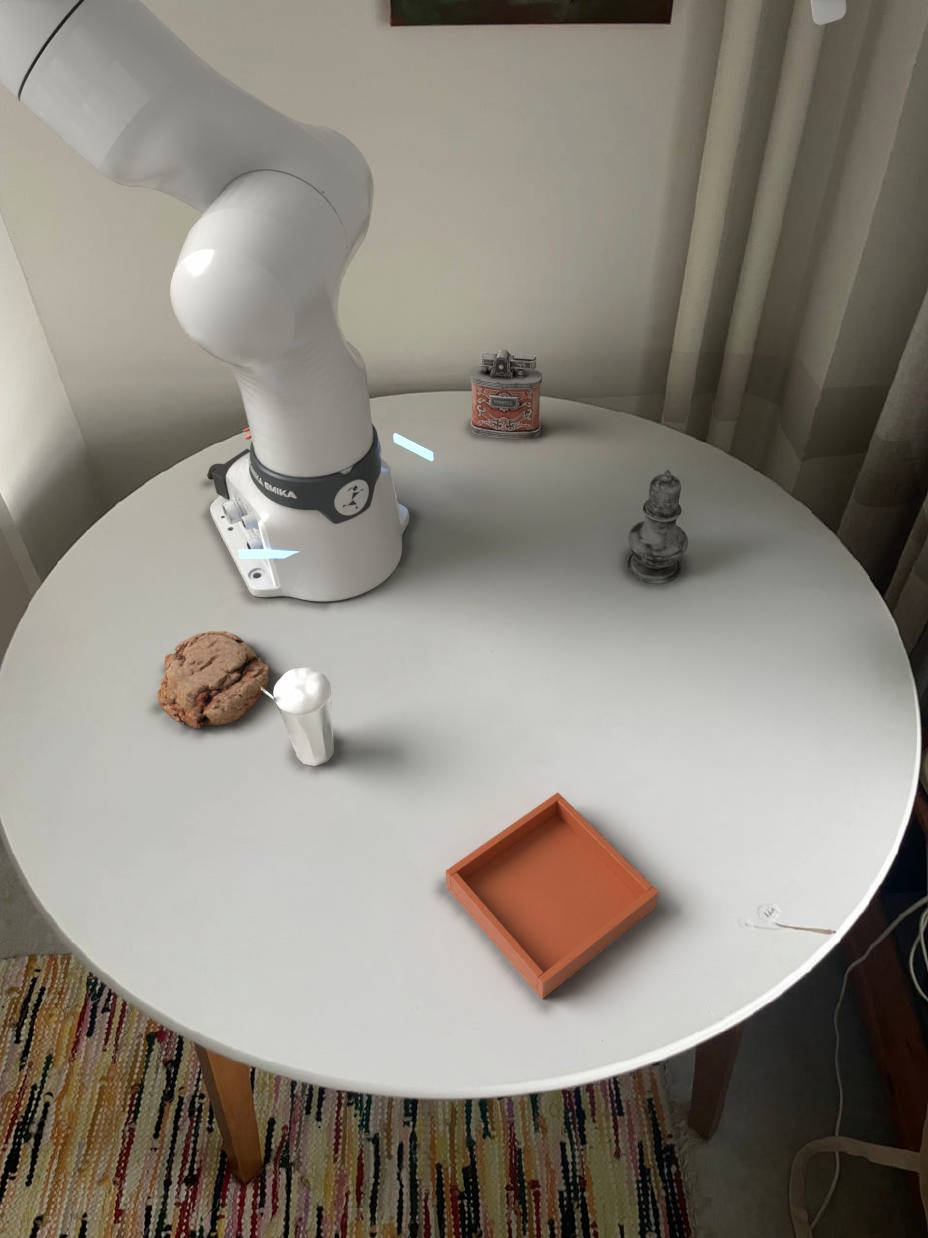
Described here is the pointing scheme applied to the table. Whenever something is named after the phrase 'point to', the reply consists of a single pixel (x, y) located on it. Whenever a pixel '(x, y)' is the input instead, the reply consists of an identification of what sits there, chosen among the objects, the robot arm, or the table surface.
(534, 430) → the lighter
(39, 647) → the table surface
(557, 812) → the tray
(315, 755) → the milkshake cup
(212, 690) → the cookie
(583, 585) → the table surface
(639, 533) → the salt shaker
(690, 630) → the table surface
